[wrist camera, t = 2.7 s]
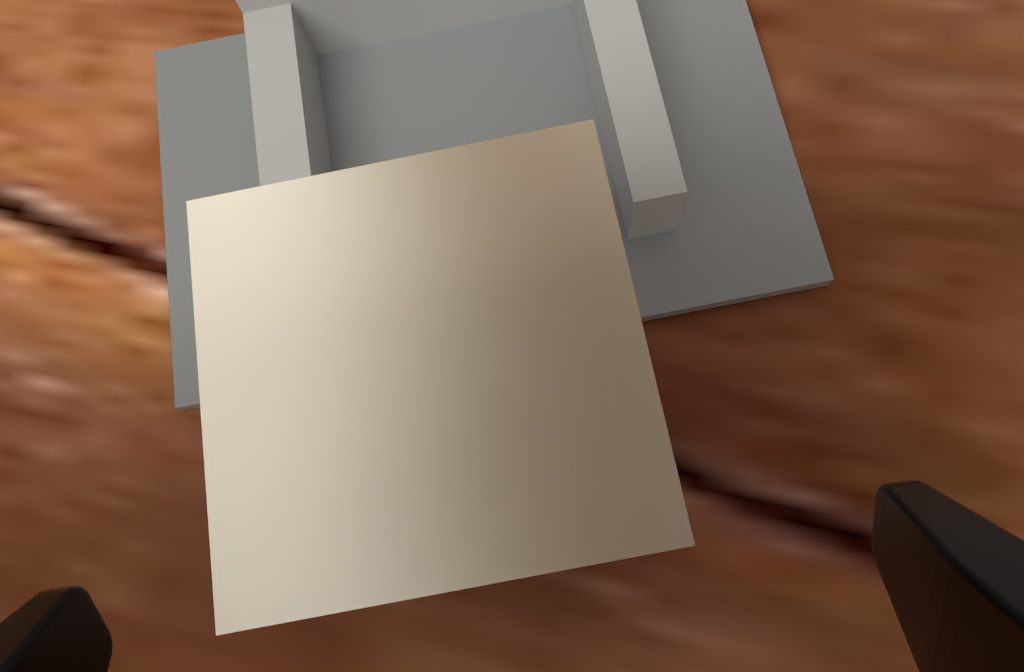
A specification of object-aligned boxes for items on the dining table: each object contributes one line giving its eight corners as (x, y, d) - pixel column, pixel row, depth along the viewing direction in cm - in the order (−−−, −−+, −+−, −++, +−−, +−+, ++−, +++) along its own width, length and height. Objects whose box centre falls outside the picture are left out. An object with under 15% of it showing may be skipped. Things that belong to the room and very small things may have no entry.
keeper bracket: (183, 411, 19) (101, 379, 16) (161, 60, 22) (88, -29, 19) (828, 285, 19) (882, 226, 16) (721, -56, 22) (748, -167, 19)
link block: (428, 592, 18) (216, 635, 7) (399, 391, 19) (184, 185, 9) (624, 555, 18) (694, 545, 7) (582, 356, 19) (589, 103, 9)
